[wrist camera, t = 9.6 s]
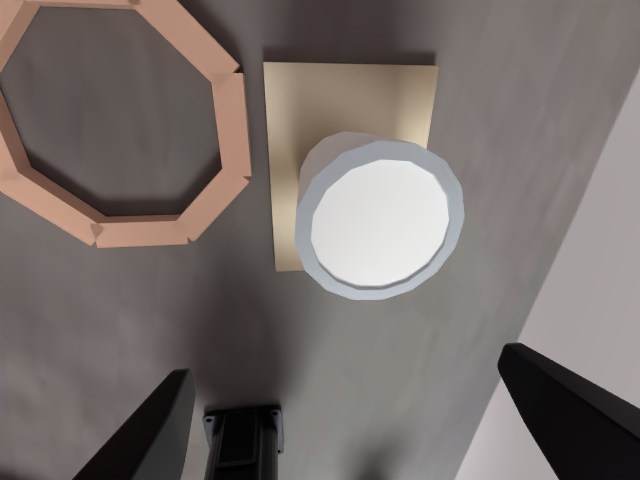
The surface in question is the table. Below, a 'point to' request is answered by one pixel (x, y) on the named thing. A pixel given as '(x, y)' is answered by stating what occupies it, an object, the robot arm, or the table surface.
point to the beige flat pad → (334, 122)
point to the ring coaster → (123, 231)
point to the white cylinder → (375, 215)
